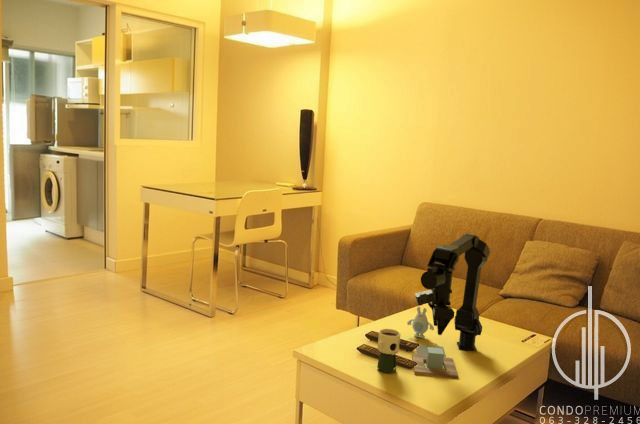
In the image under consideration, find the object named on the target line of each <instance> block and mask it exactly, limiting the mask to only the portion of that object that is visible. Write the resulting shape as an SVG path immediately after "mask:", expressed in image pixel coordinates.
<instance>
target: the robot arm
mask: <svg viewBox="0 0 640 424" xmlns="http://www.w3.org/2000/svg"><path fill="white" fill-rule="evenodd" d="M490 253H491V250H490V248H489V246H488V244H487V243H486V242H485V241H483V240H481V239H480V237H479V236H478V235H476V234H470V233H463V235H462V236H461V237H459V238H457V240H455V241H453V242H452V243H449V244H441V245H438V246H436V247H435V248H434V250H433V252H432V254H431V255H430V258H429V260H428V263H427V269H426V270H427V271H424V272H423V273H422V274H421V276H420V283H421V286H422V288H423V287H424V289H426V290H422V291H419V292H415V293H414V296H415V301H416V303H417V306H418V307H420V306H423V305H425V304H427V305H428V307H430V309H431V311H432V320H433V327H437V328H436V329H437V335H438V336H442V335H443V333H444V332H445V330H446V328H447V327H448V325H449V324H450V322H451V321H452V320H453V319H454V330H455V331H459V339H458V340H459V341H456V345H457V348H458V349H459V350H462V351H470V352H471V351H473V352H477V350H478V349H477V347H476V338H477V336H481V335H482V331H483V325H482V322H481V321H480V313H479V310H478V308H477V302H478V301H477V300H478V293H479V287H480V280H481V273H482V268H483V266H484V265H485V264H486V263H487V261H488V258H489V256H490ZM463 254H464V258H463V259H464V261H465V263H466V266H467V271H466V276H465V278H466V279H465V285H464V291H463V299H462V300H463V301H462V305H461V306H460V307H459V308H458V309H456V311H454V309H453V308H452V307H451V305H452V302H451V301H450V299H451V294H452V293H453V290H452V284H453V283H452V282H453V274H454V273H453V272H454V271H456V268H455V267H456V265H457V263H458V262H459V259H460V256H461V255H463Z"/></svg>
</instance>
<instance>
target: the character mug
mask: <svg viewBox="0 0 640 424" xmlns="http://www.w3.org/2000/svg"><path fill="white" fill-rule="evenodd" d="M400 342H401V332H400V331H399V330H397V329H393V328H382V329H379V330H378V339H377V351H379V352H380V353H379V356H378V361H377V366H376V367H377V369H378V370H380V371H382V372H384V373H394V372H395V371H397V355H396V354H398V353H399V352H400Z"/></svg>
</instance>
